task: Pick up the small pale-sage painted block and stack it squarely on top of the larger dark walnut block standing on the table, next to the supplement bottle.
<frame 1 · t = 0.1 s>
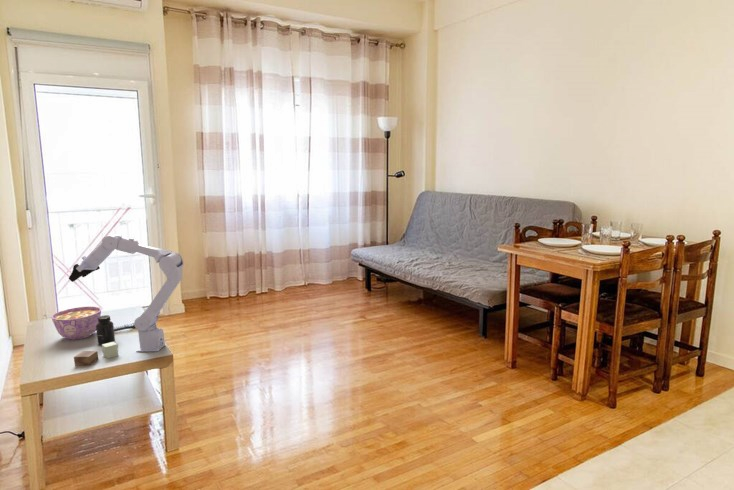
hand: (76, 277, 203), 32 cm above the table, tool tilted 50°, fingers open, 7 cm apart
walnut block: (86, 363, 195), on the table
bowl of food: (80, 337, 225), on the table
supplement bottle: (106, 342, 216), on the table
sage block: (110, 355, 201), on the table
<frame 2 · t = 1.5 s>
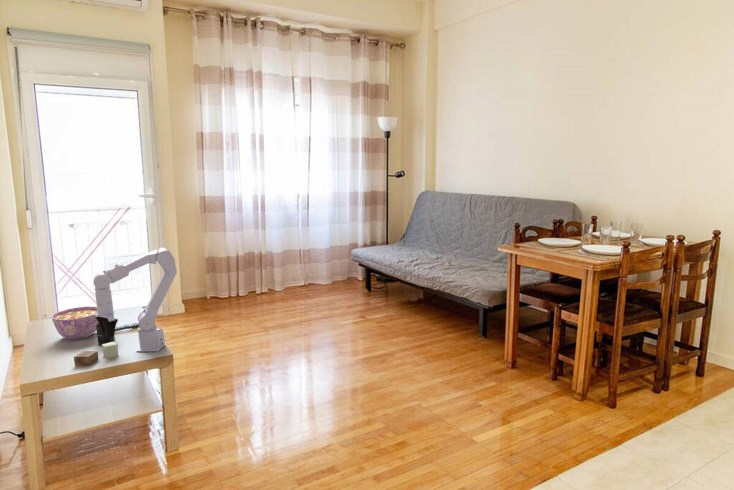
hand: (108, 334, 200), 9 cm above the table, tool pointing down, fingers open, 7 cm apart
nothing on the table moved.
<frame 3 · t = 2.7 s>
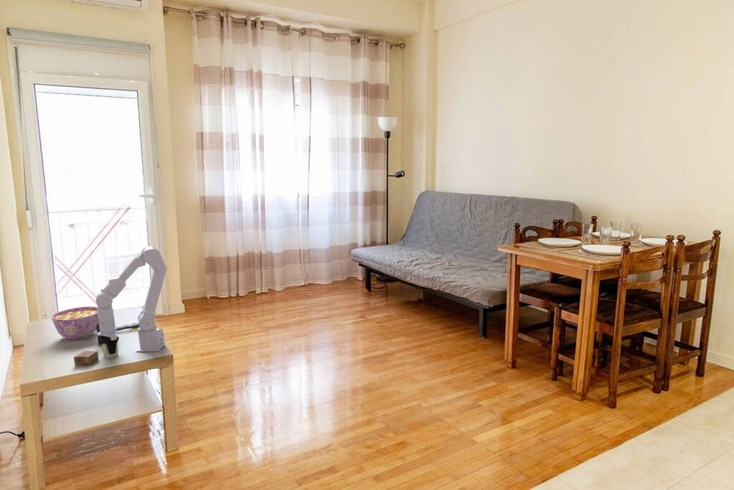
hand: (110, 352, 201), 1 cm above the table, tool pointing down, fingers closed on sage block, 4 cm apart
sage block: (110, 355, 201), on the table, touching gripper
everything else where it was.
when the fingers open (7 cm above the table, at t = 5.4 s): sage block stays where it is, resting on walnut block.
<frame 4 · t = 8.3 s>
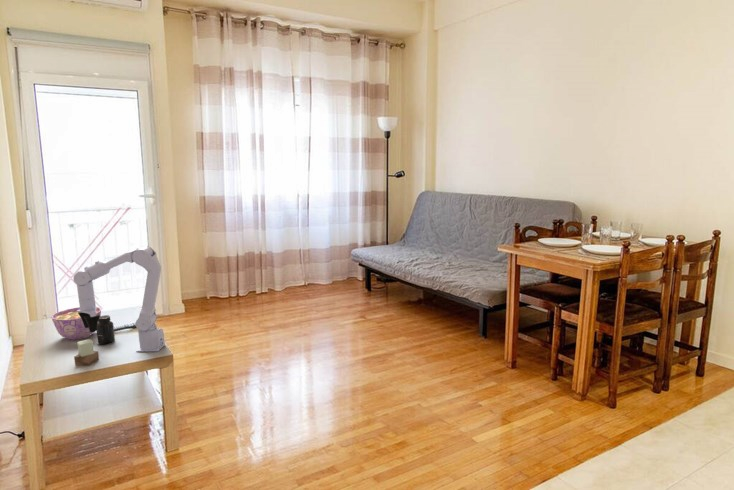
hand: (90, 329, 203), 10 cm above the table, tool pointing down, fingers open, 7 cm apart
walnut block: (87, 363, 195), on the table, touching sage block
sage block: (86, 353, 194), point 4 cm above the table, touching walnut block
everything else where it was.
at the end: sage block 0.0 cm off-centre on the walnut block, point 4.0 cm above the walnut block's base; sage block tilted 0°; walnut block tilted 0° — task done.
